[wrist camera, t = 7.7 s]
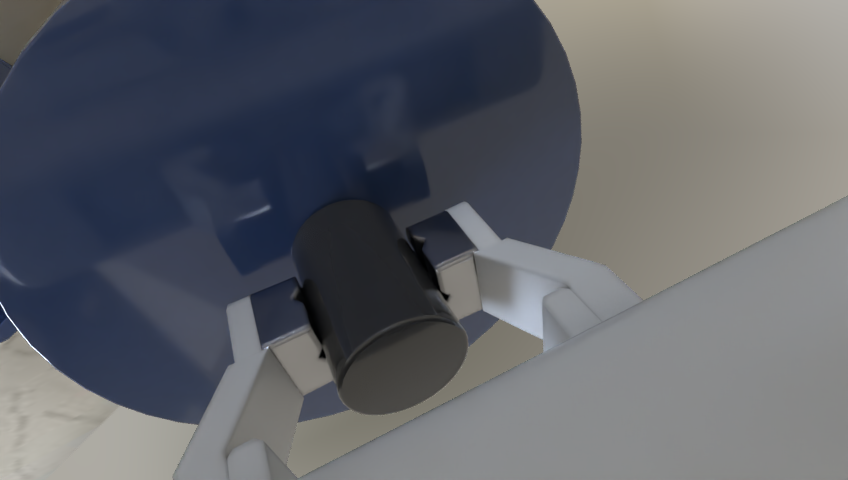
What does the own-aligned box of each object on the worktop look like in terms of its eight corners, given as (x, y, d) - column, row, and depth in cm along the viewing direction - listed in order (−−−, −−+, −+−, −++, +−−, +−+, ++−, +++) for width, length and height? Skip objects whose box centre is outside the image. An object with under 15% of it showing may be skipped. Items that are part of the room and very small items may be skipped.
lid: (-265, 47, 7) (-733, 279, 3) (554, -189, 9) (818, -209, 6) (203, 453, 16) (219, 635, 12) (556, 281, 19) (658, 390, 15)
